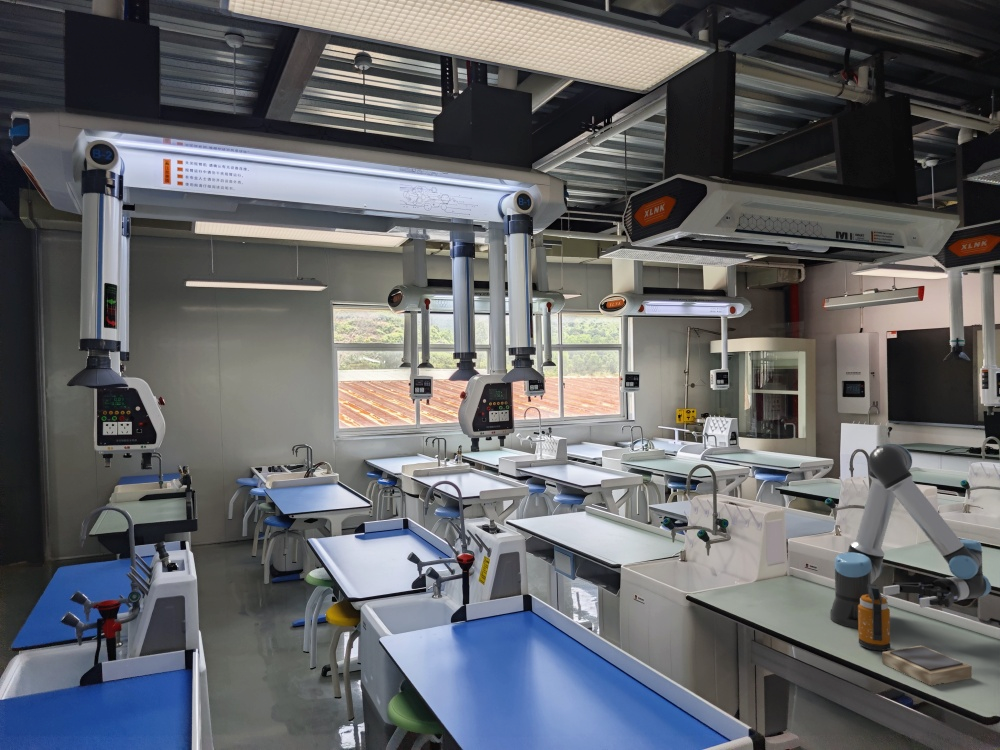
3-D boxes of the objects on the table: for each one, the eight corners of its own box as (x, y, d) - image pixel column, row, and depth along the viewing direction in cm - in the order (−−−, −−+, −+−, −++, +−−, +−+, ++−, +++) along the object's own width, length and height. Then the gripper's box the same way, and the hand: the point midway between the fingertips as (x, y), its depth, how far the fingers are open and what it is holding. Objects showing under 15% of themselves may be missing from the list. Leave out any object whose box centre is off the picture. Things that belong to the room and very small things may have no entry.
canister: (886, 643, 219) (885, 582, 219) (894, 656, 209) (893, 592, 209) (856, 639, 222) (855, 580, 222) (862, 652, 212) (861, 589, 212)
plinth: (882, 663, 203) (882, 650, 203) (921, 656, 208) (921, 643, 208) (930, 686, 188) (930, 671, 188) (971, 678, 193) (971, 664, 193)
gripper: (986, 612, 213) (937, 620, 206) (916, 590, 237) (870, 597, 230) (985, 588, 213) (936, 596, 206) (915, 569, 237) (869, 575, 230)
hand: (901, 597), depth 218 cm, fingers open, 13 cm apart
